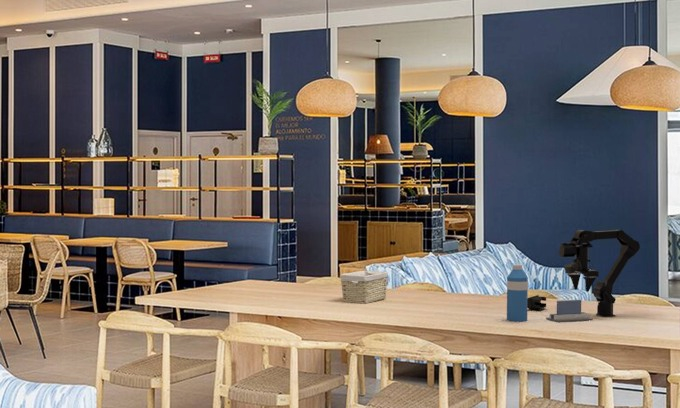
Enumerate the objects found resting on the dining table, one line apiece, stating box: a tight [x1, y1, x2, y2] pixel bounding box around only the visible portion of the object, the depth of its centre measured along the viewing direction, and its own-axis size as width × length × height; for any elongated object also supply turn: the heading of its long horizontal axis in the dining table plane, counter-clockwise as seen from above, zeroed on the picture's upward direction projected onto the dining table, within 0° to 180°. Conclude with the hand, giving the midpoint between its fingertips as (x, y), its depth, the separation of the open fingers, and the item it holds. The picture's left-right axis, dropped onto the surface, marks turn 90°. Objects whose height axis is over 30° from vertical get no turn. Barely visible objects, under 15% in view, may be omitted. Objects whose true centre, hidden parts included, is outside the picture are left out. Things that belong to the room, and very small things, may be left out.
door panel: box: [556, 299, 582, 315], centre depth 426 cm, size 12×2×8 cm, turn 111°
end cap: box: [527, 295, 547, 312], centre depth 459 cm, size 10×7×7 cm
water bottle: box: [506, 264, 529, 323], centre depth 424 cm, size 9×9×25 cm
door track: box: [545, 311, 593, 323], centre depth 426 cm, size 18×10×3 cm, turn 111°
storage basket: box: [340, 270, 388, 304], centre depth 491 cm, size 24×16×15 cm
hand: (581, 290), depth 437 cm, fingers open, 9 cm apart
